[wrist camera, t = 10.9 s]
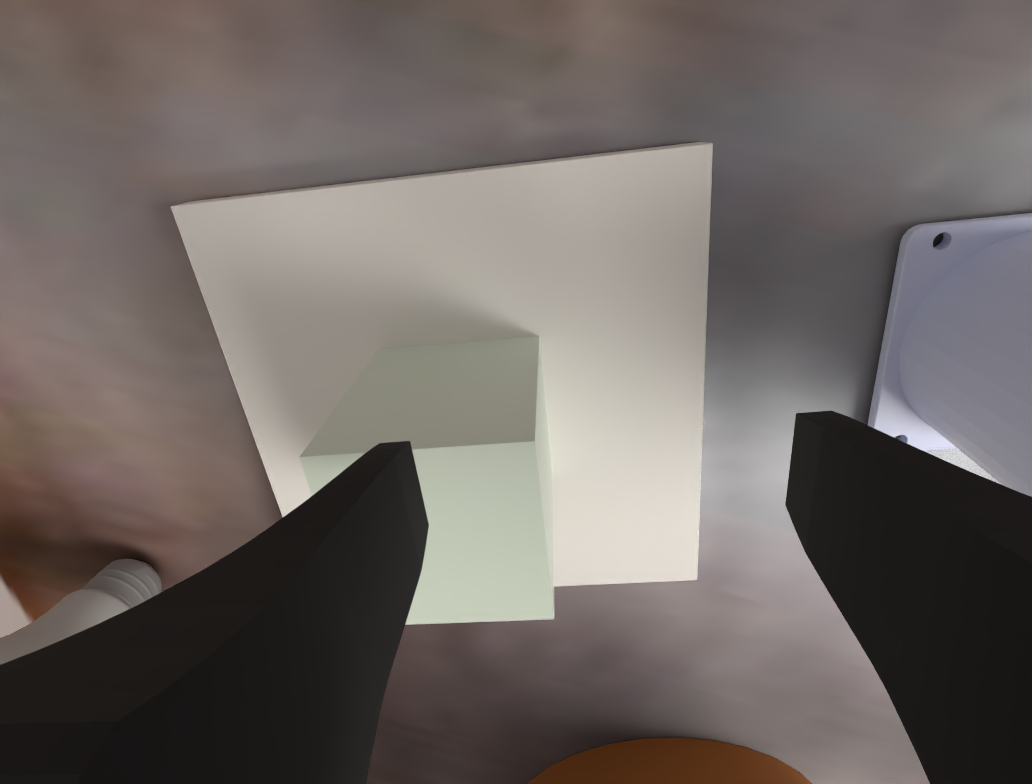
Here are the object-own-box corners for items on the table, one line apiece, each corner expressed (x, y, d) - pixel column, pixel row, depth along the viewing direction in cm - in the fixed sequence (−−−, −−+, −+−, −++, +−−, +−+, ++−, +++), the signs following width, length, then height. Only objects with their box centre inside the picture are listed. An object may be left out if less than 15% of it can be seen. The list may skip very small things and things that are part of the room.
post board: (702, 141, 17) (779, 154, 11) (690, 558, 24) (734, 695, 18) (192, 201, 18) (36, 238, 13) (321, 576, 25) (257, 708, 20)
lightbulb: (123, 625, 27) (-119, 916, 17) (47, 526, 25) (-287, 801, 15) (236, 607, 26) (48, 904, 16) (170, 501, 24) (-101, 778, 14)
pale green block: (539, 335, 18) (535, 441, 12) (552, 474, 21) (554, 619, 15) (377, 349, 19) (299, 456, 13) (408, 483, 21) (354, 626, 15)
